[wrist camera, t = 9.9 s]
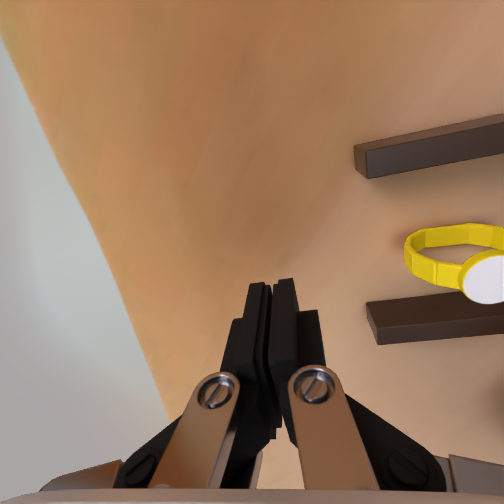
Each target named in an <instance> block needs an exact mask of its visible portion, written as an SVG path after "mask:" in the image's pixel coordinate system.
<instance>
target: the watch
mask: <svg viewBox="0 0 504 504" xmlns="http://www.w3.org/2000/svg"><path fill="white" fill-rule="evenodd" d="M461 244H472V245H479V246H485V247H492V248H494V249H497V250H487V251H483V252H480V253H477V254H475V255H473V256H471V257H470V258H469V259H468V260H466V261H465V262H464V263H463V264H456V263H448V262H441V261H439V262H438V261H436V260H434V259H431V258H428V257H426V256H423V255H420V254H418V253H417V252H419V251H420V250H422V249H424V248H431V247H441V246H451V245H461ZM404 263H405V265H406V267H407V268H408V269H409V270H410V272H411V273H412V274H413V275H415V276H416V277H419V278H421V279H423V280H425V281H427V282H430V283H432V284H436V285H437V286H443V287H448V288H454V289H460V290H461V291H462V292H463V293H464V294H465V295H466V296H467V297H468V298H469V299H471V300H472V301H475V302H478V303H481V304H494V303H499V302H503V301H504V228H503V227H499V226H494V225H486V224H476V223H470V224H469V222H468V223H466V224H461V225H452V226H444V227H435V228H427V229H420V230H418V231H417V232H415V233H413V234H411V235H409V236H408V237H407V239H406V242H405V244H404Z"/></svg>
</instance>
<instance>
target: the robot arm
mask: <svg viewBox="0 0 504 504" xmlns="http://www.w3.org/2000/svg"><path fill="white" fill-rule="evenodd" d="M282 415H283V418H284V422H285V425H286V427H287V431H288V435H289V438H290V441H291V442H292V443H293V444H294V445H295V446H296V447H297V448H298V452H299V458H300V463H301V469H302V475H303V481H304V487H305V490H303V489H256V487H257V483H258V478H259V473H260V468H261V463H262V457H263V451H262V449H263V448H264V447H265V446H266V445H267V444H268V443H269V442H270V439H276V428H281V427H282ZM0 504H504V465H500V464H495V463H490V462H485V461H480V460H476V459H471V458H466V457H461V456H456V455H451V454H449V458H444V457H439V456H434V455H432V454H431V453H430V452H429V451H428V450H426V449H425V448H424V447H423V446H421V445H420V444H418V443H417V442H415V441H414V440H413V439H411V438H410V437H408V436H407V435H405V434H404V433H402V432H401V431H399V430H398V429H396V428H395V427H394V426H392V425H391V424H389V423H388V422H386V421H385V420H383V419H382V418H380V417H379V416H377V415H376V414H375V413H373V412H372V411H370V410H369V409H367V408H366V407H364V406H363V405H361V404H360V403H358V402H357V401H355V400H354V399H353V398H351V397H350V396H348V395H347V394H345V393H344V390H343V388H342V385H341V382H340V380H339V378H338V377H337V375H336V374H335V373H334V372H333V371H332V370H331V369H329V368H327V367H326V362H325V355H324V348H323V341H322V335H321V328H320V322H319V316H318V310H309V311H299V306H298V301H297V296H296V291H295V286H294V281H293V278H288V279H281V280H278V284H274V285H273V295H272V290H271V286H270V285H265V283H264V282H259V283H251V284H250V285H249V290H248V295H247V299H246V304H245V309H244V314H243V318H237V319H234V320H233V321H232V324H231V328H230V332H229V336H228V340H227V344H226V348H225V352H224V356H223V360H222V364H221V368H220V372H216V373H213V374H210V375H209V376H207V377H205V378H204V379H203V380H202V381H201V382H200V383H198V385H197V386H196V388H195V390H194V392H193V394H192V396H191V398H190V400H189V402H188V404H187V406H186V408H185V410H184V412H183V414H182V415H181V416H180V417H179V418H177V419H176V420H175V421H174V422H172V423H171V424H170V425H169V426H167V427H166V428H165V429H163V430H162V431H161V432H160V433H158V434H157V435H156V436H155V437H153V438H152V439H151V440H150V441H149V442H147V443H146V444H145V445H143V446H142V447H141V448H140V449H138V450H137V451H136V452H135V453H133V454H132V455H131V456H130V457H129V458H128V459H127V460H126V462H122V461H121V460H116V461H112V462H109V463H105V464H102V465H98V466H94V467H91V468H87V469H84V470H80V471H76V472H73V473H69V474H66V475H62V476H59V477H57V478H55V479H53V480H51V481H50V482H49V483H47V484H46V485H45V486H43V487H42V488H41V490H40V491H39V492H36V493H31V494H25V495H21V496H18V497H15V498H11V499H8V500H5V501H2V502H0Z"/></svg>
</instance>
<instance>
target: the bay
mask: <svg viewBox="0 0 504 504" xmlns="http://www.w3.org/2000/svg"><path fill="white" fill-rule="evenodd" d="M502 153H504V113H503V114H498V115H494V116H489V117H484V118H480V119H475V120H470V121H466V122H461V123H456V124H451V125H447V126H442V127H437V128H433V129H428V130H423V131H419V132H414V133H409V134H404V135H400V136H395V137H390V138H386V139H381V140H376V141H372V142H367V143H362V144H358V145H354V158H355V169H356V170H357V171H358V172H359V173H360V174H362V175H363V176H364V177H365V178H367V179H371V178H377V177H382V176H387V175H392V174H398V173H403V172H408V171H413V170H418V169H424V168H429V167H434V166H439V165H445V164H450V163H455V162H460V161H466V160H471V159H476V158H481V157H486V156H492V155H497V154H502ZM366 310H367V319H368V322H369V324H370V327H371V329H372V332H373V334H374V337H375V339H376V342H377V344H378V345H386V344H396V343H407V342H418V341H429V340H440V339H450V338H461V337H472V336H483V335H494V334H504V301H503V302H499V303H494V304H481V303H478V302H475V301H472V300H471V299H469V298H468V297H467V296H466V295H465V294H464V293H463V292H454V293H446V294H437V295H429V296H420V297H412V298H403V299H395V300H386V301H378V302H369V303H366Z"/></svg>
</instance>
